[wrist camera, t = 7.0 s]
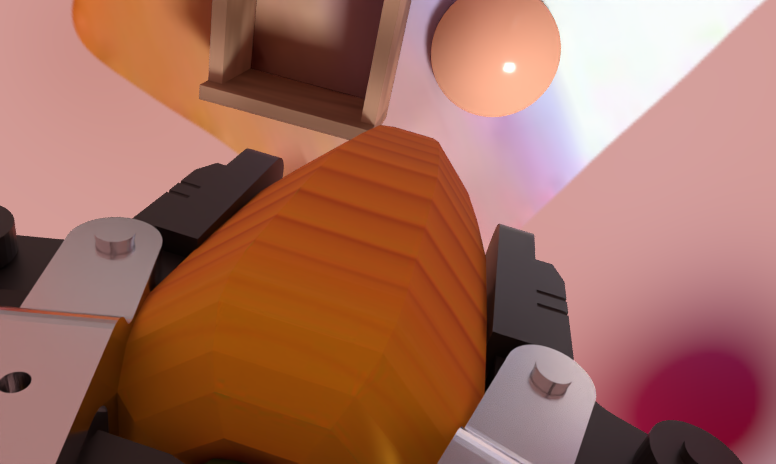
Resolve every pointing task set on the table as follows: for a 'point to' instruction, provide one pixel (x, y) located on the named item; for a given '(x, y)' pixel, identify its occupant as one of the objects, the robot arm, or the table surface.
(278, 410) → the carrot
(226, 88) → the brown open box
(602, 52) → the table surface
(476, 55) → the peach dome
